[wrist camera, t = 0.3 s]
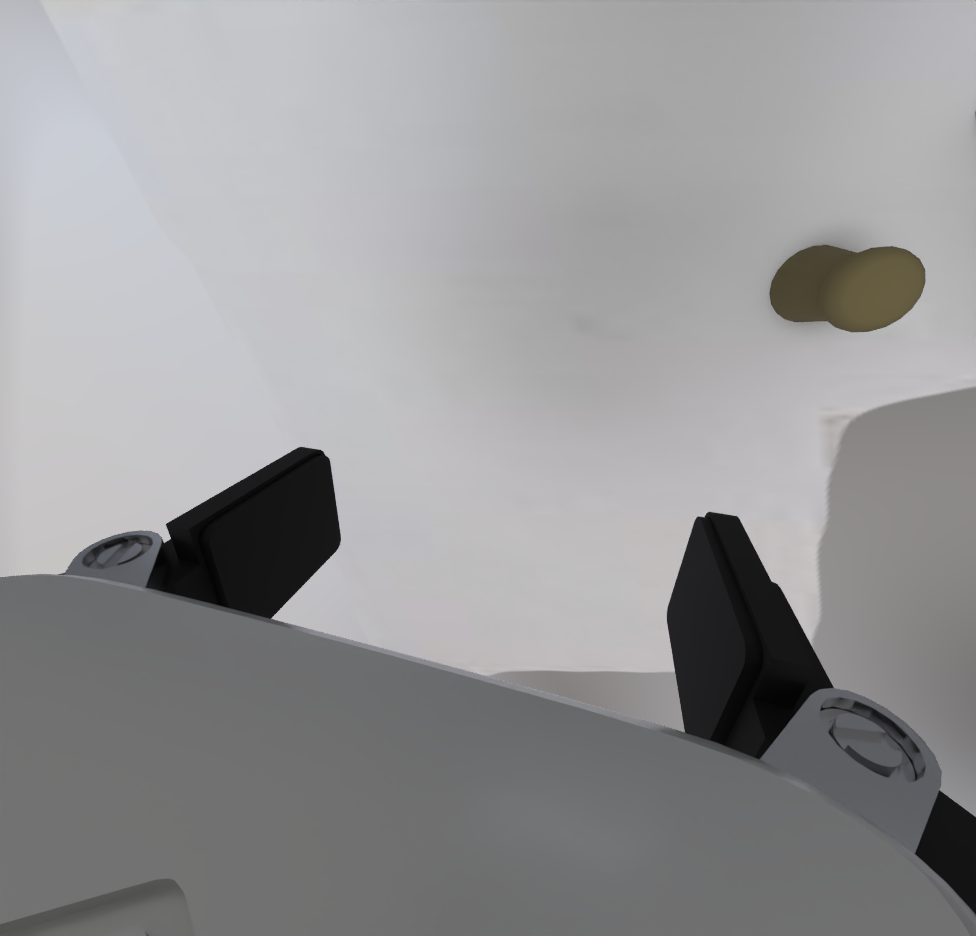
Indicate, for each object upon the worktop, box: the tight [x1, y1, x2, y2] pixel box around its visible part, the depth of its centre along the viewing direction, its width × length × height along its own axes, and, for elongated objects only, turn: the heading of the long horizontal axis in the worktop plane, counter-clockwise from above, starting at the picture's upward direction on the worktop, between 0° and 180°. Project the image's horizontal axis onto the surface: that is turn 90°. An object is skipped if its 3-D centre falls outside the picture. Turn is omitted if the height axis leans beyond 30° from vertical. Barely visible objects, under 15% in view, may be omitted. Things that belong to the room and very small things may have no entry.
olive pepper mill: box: [770, 245, 925, 332], centre depth 31 cm, size 6×6×11 cm
